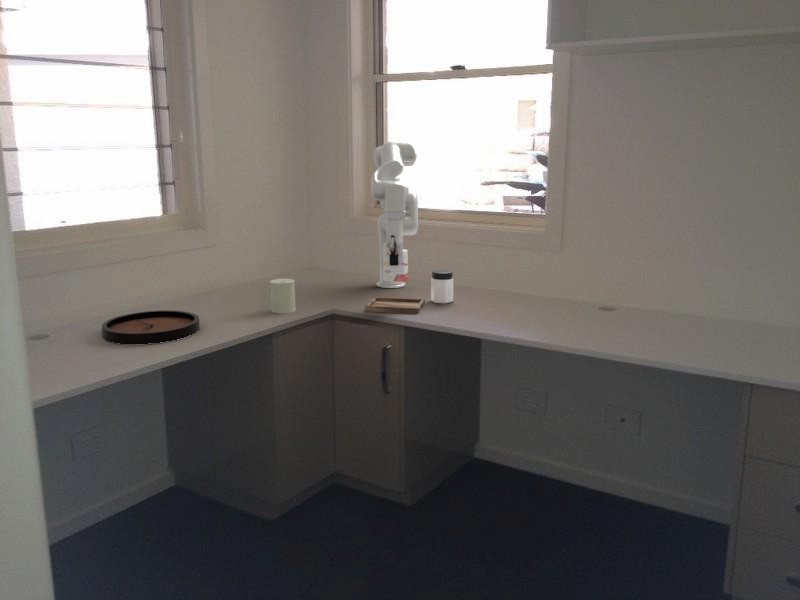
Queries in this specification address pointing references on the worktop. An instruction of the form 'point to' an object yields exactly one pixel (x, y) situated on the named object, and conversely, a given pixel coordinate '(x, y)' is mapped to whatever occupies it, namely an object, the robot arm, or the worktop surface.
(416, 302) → the tray
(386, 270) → the ink cartridge box
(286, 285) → the can
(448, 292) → the jar
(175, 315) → the wall clock
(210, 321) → the worktop surface
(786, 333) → the worktop surface
